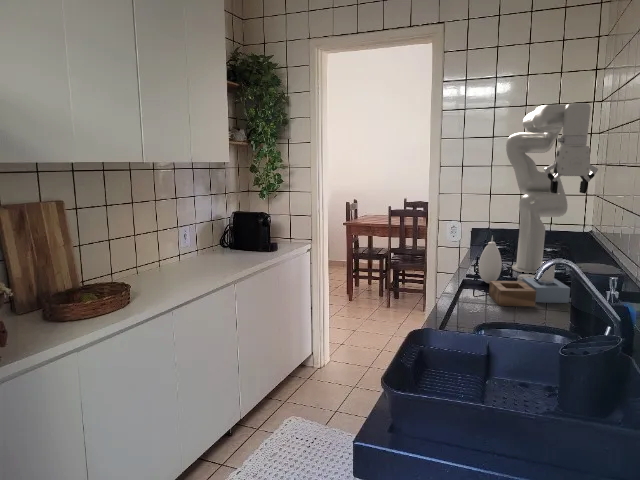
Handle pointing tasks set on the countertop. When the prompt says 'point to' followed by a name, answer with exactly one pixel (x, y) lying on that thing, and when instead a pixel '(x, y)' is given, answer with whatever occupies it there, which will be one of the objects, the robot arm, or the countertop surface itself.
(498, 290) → the walnut mount
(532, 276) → the mechanical component
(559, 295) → the socket block
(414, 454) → the countertop surface
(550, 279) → the steel pin
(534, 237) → the robot arm
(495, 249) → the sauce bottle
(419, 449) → the countertop surface
